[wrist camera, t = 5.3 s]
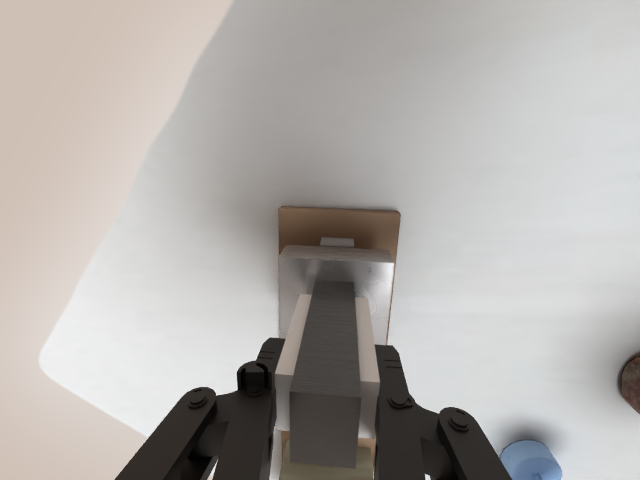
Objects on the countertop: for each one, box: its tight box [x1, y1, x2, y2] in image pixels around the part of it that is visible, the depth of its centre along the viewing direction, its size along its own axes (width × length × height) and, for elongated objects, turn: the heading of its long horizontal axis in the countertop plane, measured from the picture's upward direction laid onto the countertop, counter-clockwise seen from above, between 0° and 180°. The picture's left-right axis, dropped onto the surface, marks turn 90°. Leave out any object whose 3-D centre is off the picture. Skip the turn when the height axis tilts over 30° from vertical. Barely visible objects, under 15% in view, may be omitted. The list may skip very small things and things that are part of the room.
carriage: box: [278, 245, 394, 469], centre depth 16 cm, size 6×7×12 cm
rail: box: [278, 206, 401, 480], centre depth 23 cm, size 30×9×10 cm, turn 179°
